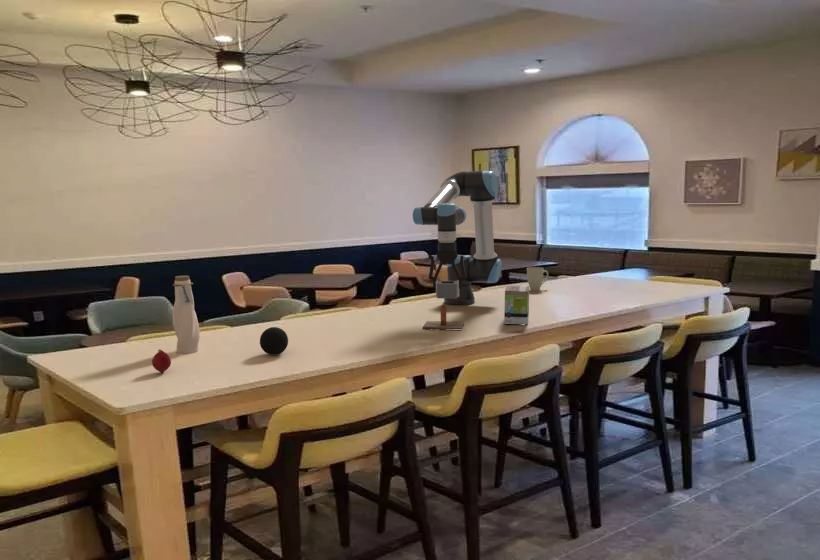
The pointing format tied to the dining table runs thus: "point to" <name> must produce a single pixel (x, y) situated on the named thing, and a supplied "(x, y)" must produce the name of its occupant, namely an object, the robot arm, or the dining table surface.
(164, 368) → the onion
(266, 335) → the speaker
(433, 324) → the keeper
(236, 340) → the dining table surface
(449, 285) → the grey square hollow block
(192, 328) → the water bottle
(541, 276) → the mug
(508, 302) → the tea box
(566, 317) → the dining table surface
